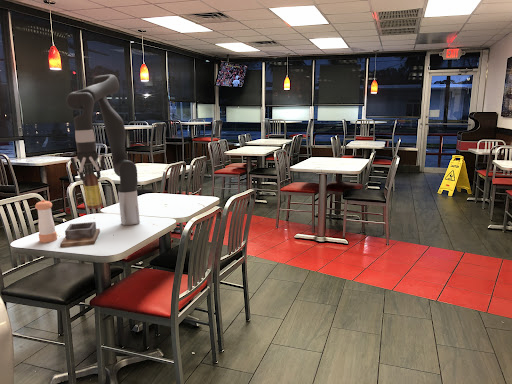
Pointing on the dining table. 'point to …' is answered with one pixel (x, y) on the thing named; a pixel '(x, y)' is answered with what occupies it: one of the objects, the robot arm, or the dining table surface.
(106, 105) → the robot arm
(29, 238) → the dining table surface
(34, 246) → the dining table surface
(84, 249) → the dining table surface
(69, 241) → the stone serving dish
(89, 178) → the sauce bottle
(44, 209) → the pepper shaker
